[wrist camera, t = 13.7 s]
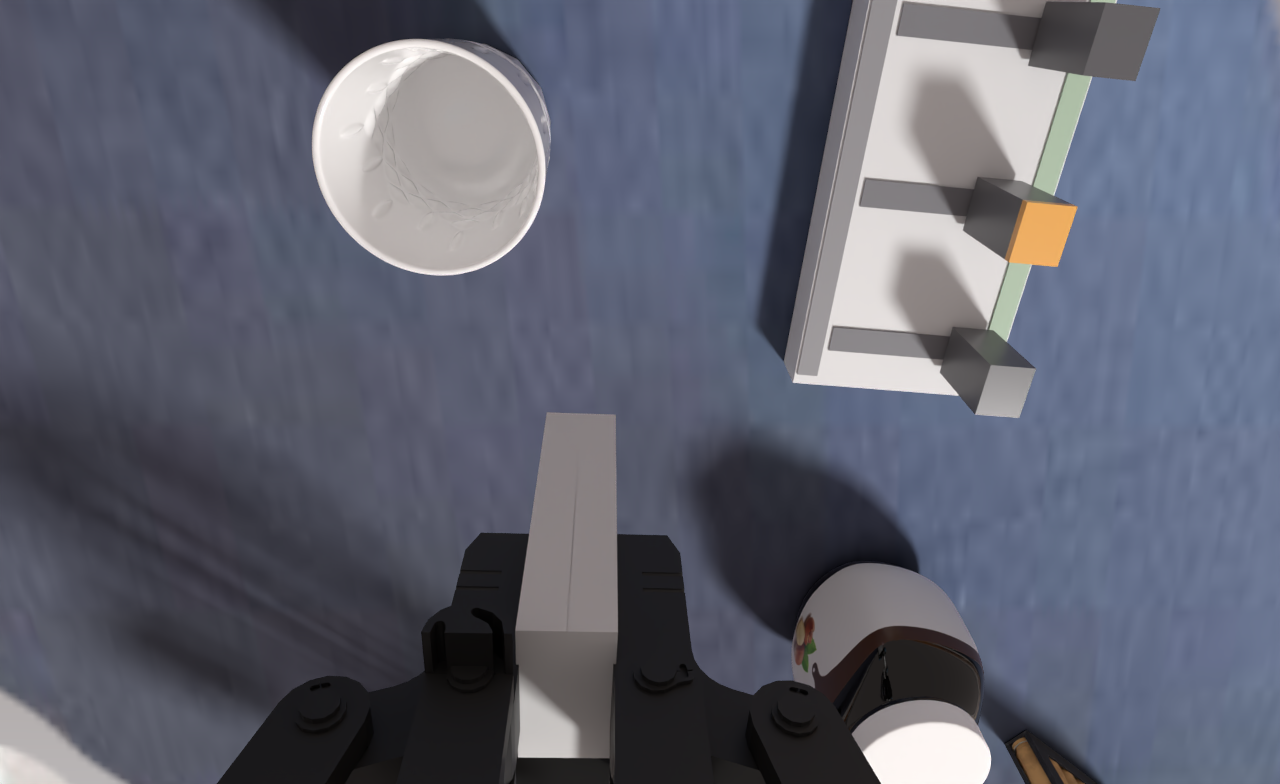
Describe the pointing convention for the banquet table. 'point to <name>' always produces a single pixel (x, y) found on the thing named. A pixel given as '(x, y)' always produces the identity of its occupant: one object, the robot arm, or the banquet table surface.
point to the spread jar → (895, 672)
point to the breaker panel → (923, 187)
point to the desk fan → (562, 770)
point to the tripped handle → (1019, 221)
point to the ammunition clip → (1042, 762)
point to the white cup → (433, 153)
